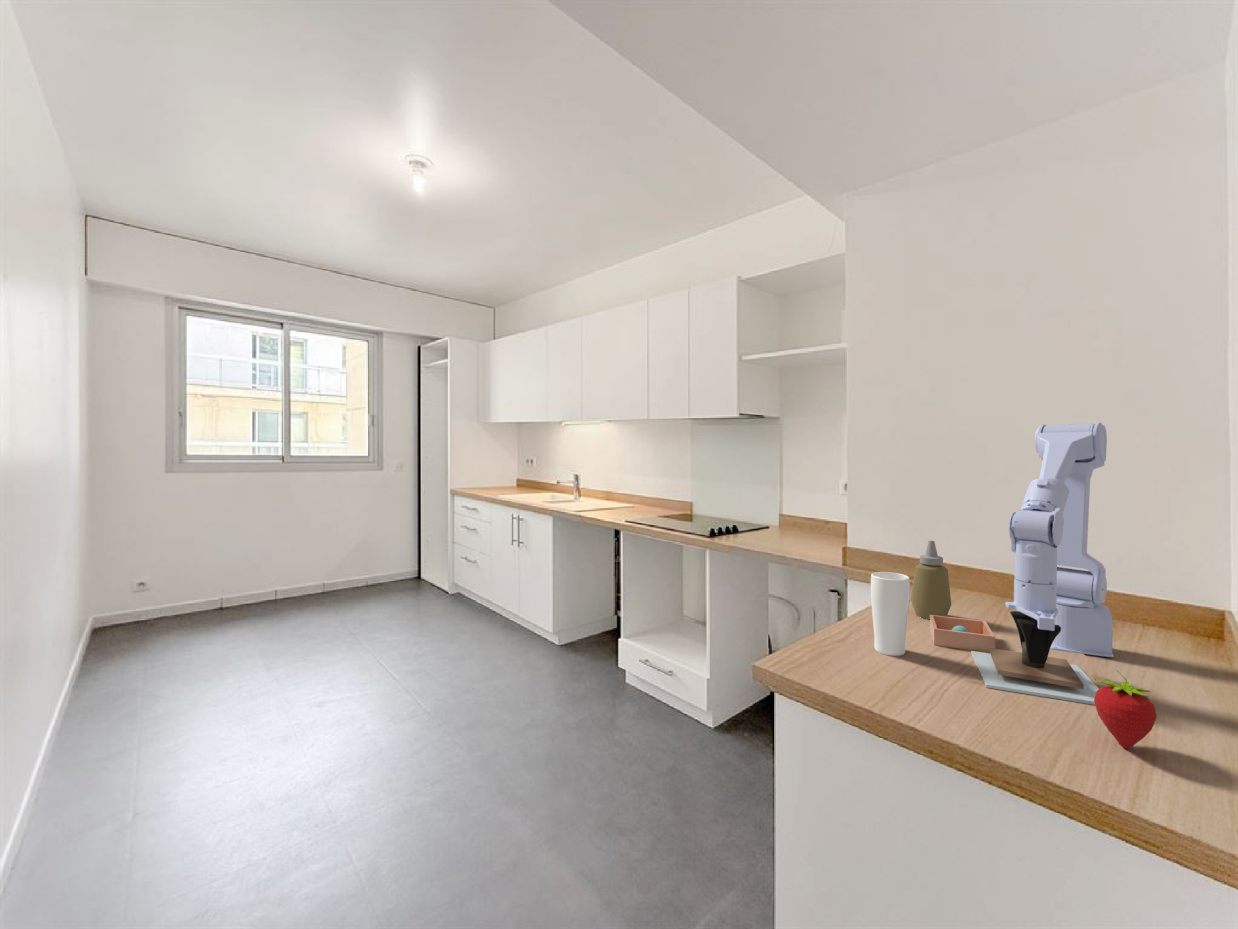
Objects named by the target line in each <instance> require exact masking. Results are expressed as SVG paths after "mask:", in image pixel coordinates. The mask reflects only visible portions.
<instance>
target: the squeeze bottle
mask: <svg viewBox="0 0 1238 929" xmlns="http://www.w3.org/2000/svg"><path fill="white" fill-rule="evenodd" d="M912 582H913V583H912V589H911V595H910V601H911V604H912V606H913V609H914V610H913V611H914V612H915V615H916V617H918V616H919V617H921V618H920V619H922V618H923V619H922V620H926V619H930V615H937V616H945V617H948V614H949V612H950V609H951V608H952V607H951V606H952V597H951V589H950V588H951V586H950V580H949V569H948V568H947V567H946V566H944V557H942V556H940V555H939V554H938V551H937V546H936V543H935V540H928V542H927V545H926V549H925V553H924V554H921V555H919V564H917V565H915V566H914V574H913V581H912ZM919 617H918V618H919Z"/></svg>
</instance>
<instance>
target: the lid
mask: <svg viewBox="0 0 1238 929" xmlns="http://www.w3.org/2000/svg"><path fill="white" fill-rule="evenodd" d="M1021 650H1022V651H1021V652H1019V651H1013V650H1005V649H999V648H995V649H994V648H990V654H991V656H992V659H993V662H994V665H995V668H996V670H997V673H998V675H1004V676H1010V677H1016V678H1021V679H1027V680H1033V681H1039V682H1045V683H1050V684H1056V685H1062V686H1068V687H1073V688H1079V689H1084V684H1083V683H1082V681H1081V680H1080V678H1079V677H1078V676H1077V674H1076V673H1075V671H1074V670H1073V668H1072V667H1071V666H1070V664H1071V663H1069V661H1068V660H1067V659H1065V658H1057V657H1054V656H1053V657H1051V656H1048V657H1047V660H1046V663H1045V664H1038V663H1031V662H1029V660H1028V657H1027V652H1026V645H1025V641H1024V642H1022V646H1021Z"/></svg>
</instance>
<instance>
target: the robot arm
mask: <svg viewBox="0 0 1238 929" xmlns="http://www.w3.org/2000/svg"><path fill="white" fill-rule="evenodd" d="M1034 434H1035V435H1034V447H1035V448H1034V449H1035V451H1036V453H1037V454H1038V456H1039V458H1041V461H1042V462H1041V467H1040V472H1039V476H1038V478H1036V479H1033V480H1031V481H1030V482H1029V484H1028V487H1027V489H1026V493H1025V495H1024V498H1023V500H1022V503H1021V506H1020V509H1019V510H1017V512H1016V511H1014V512H1012V513H1011V515H1010V517H1009V521H1008V522H1009V523H1008V533H1009V538H1010V542H1011V544H1010V545H1011V548H1010V549H1011V552H1013V554H1014V557H1013V558H1014V560H1013V562H1014V564H1013V565H1014V566H1013V570H1014V571H1013V572H1014V573H1013V574H1014V578H1013V601H1005V603H1004V604H1005V607H1006V608H1007V609H1011V611H1009V612H1010V613H1009V614H1010V615H1011V617H1012V619H1013V621H1014V623H1015V625H1016V628H1017V632H1018V637H1019V641H1020V646H1021V647H1022V642H1024V641H1025V645H1026V652H1027V657H1028V660H1029V662H1031V663H1038V664H1045V663H1046V660H1047V657H1049V653H1050V650H1052V651H1053V650H1054V651H1059V652H1060V651H1061V652H1068V653H1069V652H1070V653H1077V654H1084V655H1090V656H1099V657H1105V658H1107V657H1108V658H1114V654H1113V636H1114V635H1113V628H1114V626H1113V623H1114V622H1113V617H1112V613H1111V610H1110V608H1109V607H1108V606H1106V605H1102V604H1103V603H1105V601H1106V597H1107V589H1108V585H1107V584H1108V583H1107V577H1106V568H1105V565H1104V564H1103V563H1101V561H1099V560H1097V559H1096V558H1094V557H1093V556H1092V555H1091V554H1089V553H1088V537H1089V536H1088V535H1089V534H1088V532H1089V515H1090V514H1089V512H1090V510H1089V509H1090V495H1091V494H1090V492H1091V490H1090V489H1091V478H1092V476H1093V472H1094V470H1096V469H1099V468H1102V467H1104V466H1105V462H1106V460H1107V444H1108V437H1107V436H1108V435H1107V434H1108V433H1107V428H1106V426H1105V425H1103V423H1102V422H1095V423H1078V424H1077V423H1075V424H1074V423H1071V424H1070V423H1069V424H1048V425H1047V424H1040V425H1039V426H1038V428H1036V431H1035V433H1034ZM1060 566H1062V567H1060ZM1068 567H1070V568H1068ZM1075 568H1078V569H1075Z"/></svg>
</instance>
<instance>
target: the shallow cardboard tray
mask: <svg viewBox="0 0 1238 929" xmlns="http://www.w3.org/2000/svg"><path fill="white" fill-rule="evenodd" d="M955 626H963V627H965V628H966V629H967V630H968V632H961V631H952V629H953V628H954V627H955ZM929 631H930V632H929V633H930V636H931V639H932V643H933V646H936V647H937V646H938V647H946V648H953V649H959V650H965V651H977V652H984V653H990V648H994V649H996V635H995V634H994V633H993V631H992V629H991V628H990V626H989V624H988V623H987V621H986V620H980V619H978V620H977V619H969V618H962V617H961V618H960V617H952V616H947V617H945V616H937V615H930V620H929Z"/></svg>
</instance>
